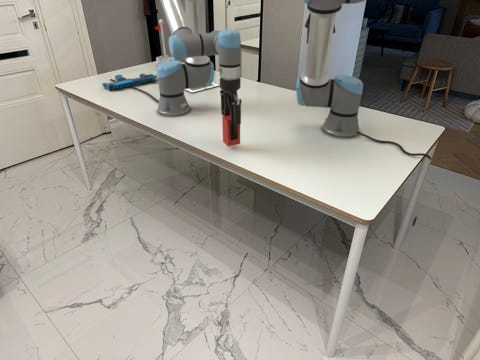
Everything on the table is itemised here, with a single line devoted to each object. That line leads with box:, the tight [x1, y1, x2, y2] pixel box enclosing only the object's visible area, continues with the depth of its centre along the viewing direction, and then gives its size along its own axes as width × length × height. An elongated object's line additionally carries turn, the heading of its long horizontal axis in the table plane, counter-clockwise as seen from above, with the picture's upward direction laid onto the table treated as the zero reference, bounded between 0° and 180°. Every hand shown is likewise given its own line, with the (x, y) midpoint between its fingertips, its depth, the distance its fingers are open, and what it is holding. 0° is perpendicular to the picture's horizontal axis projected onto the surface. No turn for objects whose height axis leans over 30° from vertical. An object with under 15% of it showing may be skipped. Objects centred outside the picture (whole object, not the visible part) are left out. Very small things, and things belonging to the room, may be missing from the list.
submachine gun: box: [101, 73, 158, 91], centre depth 209 cm, size 34×4×25 cm
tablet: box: [184, 81, 220, 94], centre depth 207 cm, size 32×20×1 cm, turn 41°
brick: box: [221, 115, 241, 148], centre depth 132 cm, size 5×5×11 cm
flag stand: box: [154, 18, 176, 66], centre depth 234 cm, size 13×13×30 cm
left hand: (231, 136), depth 134 cm, fingers closed on brick, 5 cm apart
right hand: (317, 45), depth 167 cm, fingers open, 13 cm apart
